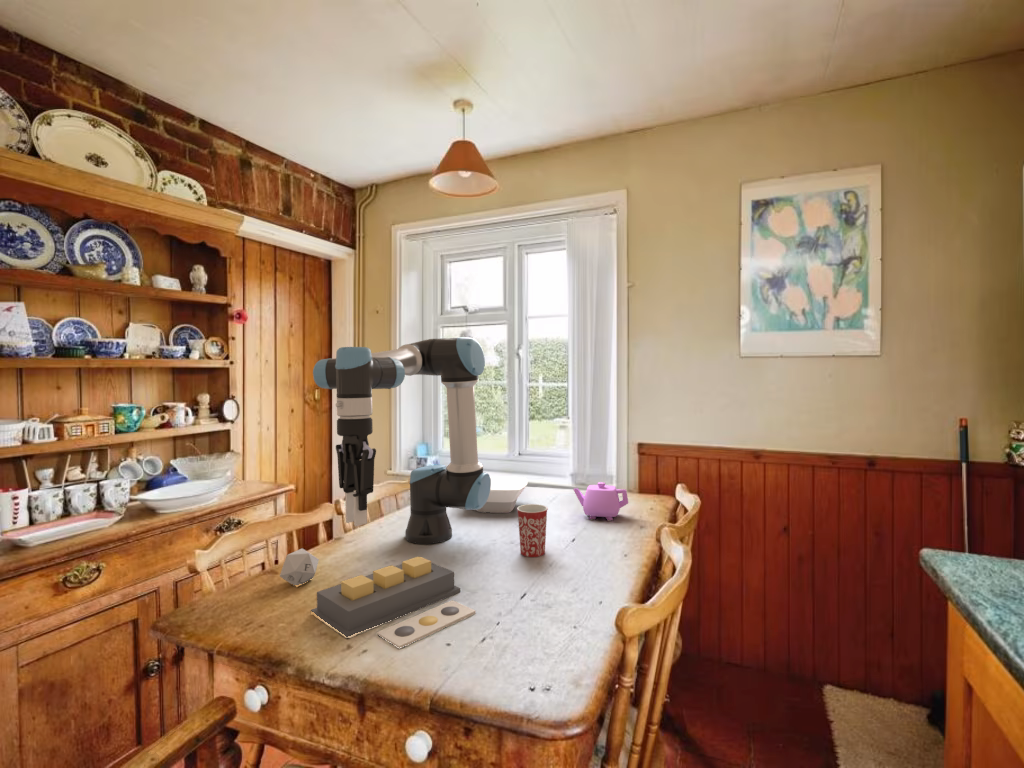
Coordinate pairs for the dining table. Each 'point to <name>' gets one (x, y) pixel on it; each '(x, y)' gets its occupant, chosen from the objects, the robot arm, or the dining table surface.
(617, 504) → the teapot
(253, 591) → the dining table surface
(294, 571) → the die
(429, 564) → the button
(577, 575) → the dining table surface
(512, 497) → the bowl
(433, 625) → the card
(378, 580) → the button
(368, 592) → the button
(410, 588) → the board
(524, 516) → the mug
